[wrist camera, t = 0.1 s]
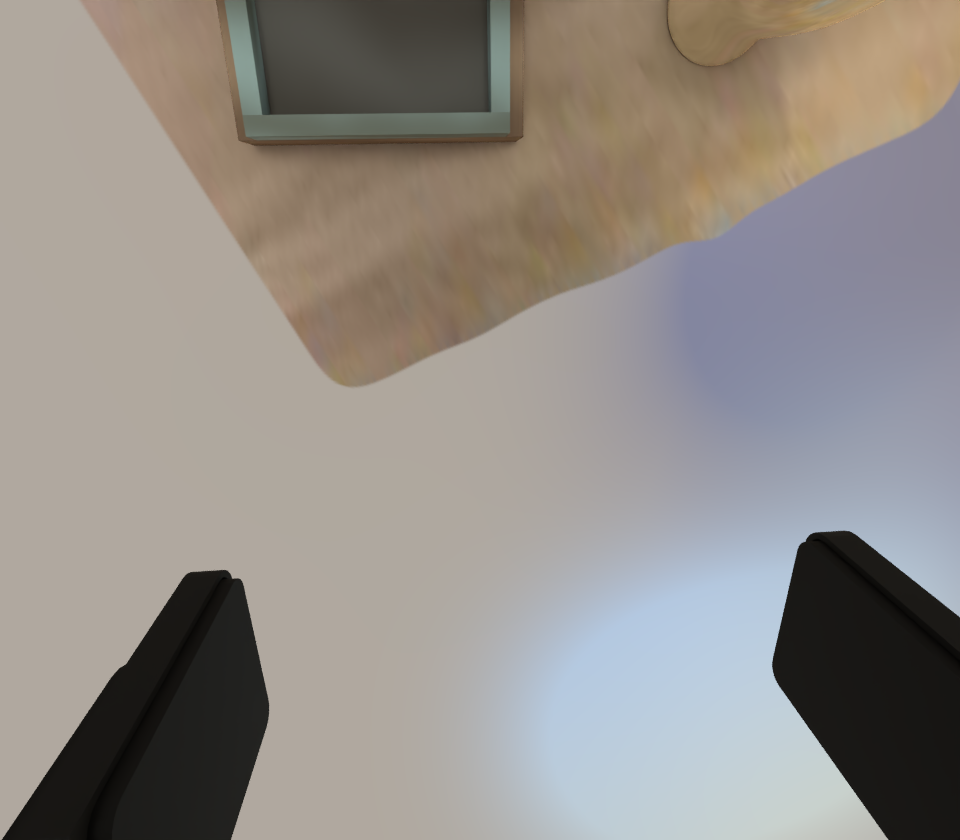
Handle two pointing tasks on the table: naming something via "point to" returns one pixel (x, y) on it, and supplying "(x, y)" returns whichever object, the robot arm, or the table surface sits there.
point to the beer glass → (748, 23)
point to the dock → (374, 70)
